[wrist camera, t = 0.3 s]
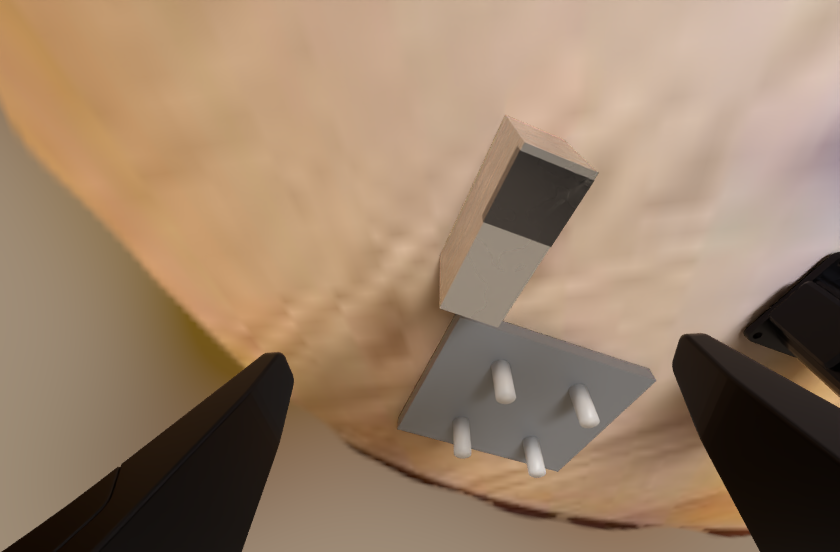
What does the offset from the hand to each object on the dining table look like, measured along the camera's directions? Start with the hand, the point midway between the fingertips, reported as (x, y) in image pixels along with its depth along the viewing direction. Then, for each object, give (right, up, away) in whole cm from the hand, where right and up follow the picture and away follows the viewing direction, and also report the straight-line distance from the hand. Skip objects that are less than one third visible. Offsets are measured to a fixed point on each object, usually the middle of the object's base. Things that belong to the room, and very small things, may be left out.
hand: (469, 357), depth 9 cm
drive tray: (+6, -7, +19) cm, 21 cm away
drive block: (+3, +6, +11) cm, 13 cm away
